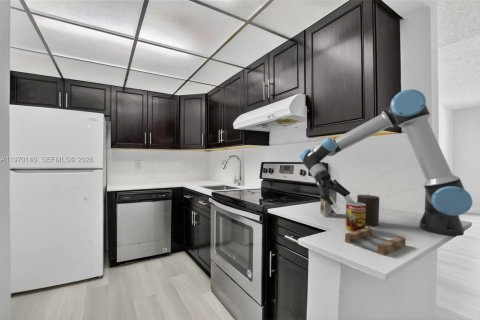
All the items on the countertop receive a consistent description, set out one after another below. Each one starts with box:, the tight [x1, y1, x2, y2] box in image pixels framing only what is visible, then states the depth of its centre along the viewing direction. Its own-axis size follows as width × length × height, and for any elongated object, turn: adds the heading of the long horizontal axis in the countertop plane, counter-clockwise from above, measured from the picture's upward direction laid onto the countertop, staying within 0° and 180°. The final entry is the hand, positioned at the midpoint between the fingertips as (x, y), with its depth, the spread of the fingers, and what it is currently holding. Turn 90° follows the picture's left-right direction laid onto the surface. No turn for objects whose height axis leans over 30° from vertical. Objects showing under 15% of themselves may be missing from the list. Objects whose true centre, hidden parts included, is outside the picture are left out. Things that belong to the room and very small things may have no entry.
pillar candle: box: [356, 194, 380, 227], centre depth 112 cm, size 10×10×15 cm
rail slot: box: [344, 227, 407, 256], centre depth 85 cm, size 16×14×3 cm
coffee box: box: [319, 189, 338, 218], centre depth 127 cm, size 9×6×16 cm
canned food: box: [345, 201, 366, 233], centre depth 101 cm, size 8×8×12 cm
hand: (346, 209), depth 104 cm, fingers open, 13 cm apart
